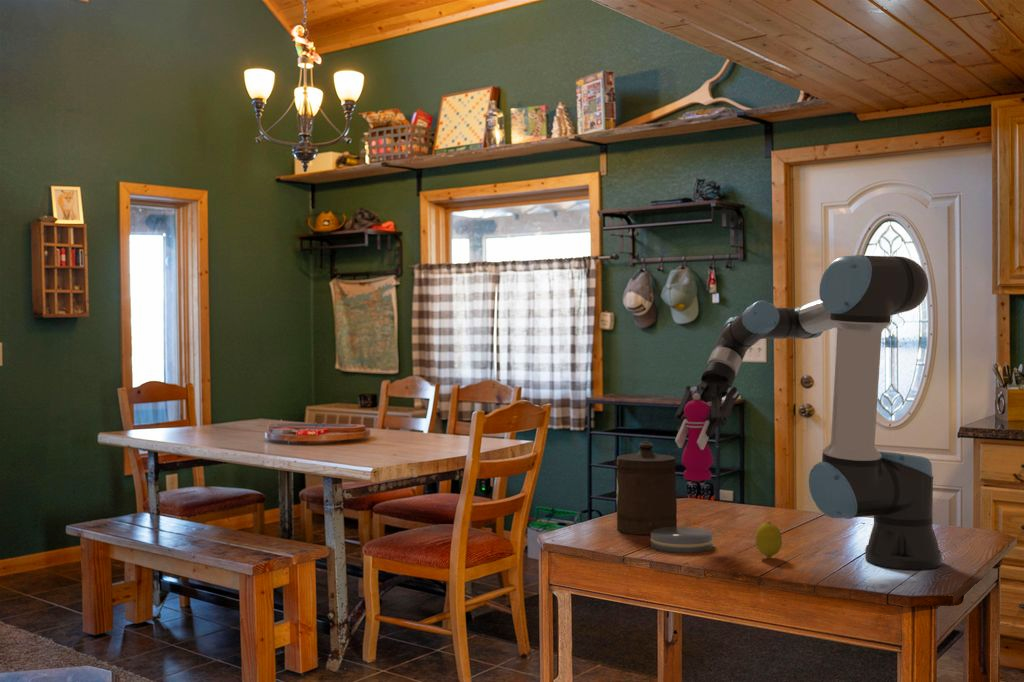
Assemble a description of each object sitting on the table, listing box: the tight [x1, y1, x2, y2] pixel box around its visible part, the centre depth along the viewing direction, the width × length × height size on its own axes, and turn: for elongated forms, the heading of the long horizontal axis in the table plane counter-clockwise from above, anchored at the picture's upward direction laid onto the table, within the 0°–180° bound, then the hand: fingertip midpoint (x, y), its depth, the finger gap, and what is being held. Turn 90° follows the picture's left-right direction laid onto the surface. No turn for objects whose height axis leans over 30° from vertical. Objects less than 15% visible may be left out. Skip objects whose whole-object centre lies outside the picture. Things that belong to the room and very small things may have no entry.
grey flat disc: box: [650, 526, 713, 554], centre depth 226 cm, size 14×14×3 cm
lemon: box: [755, 521, 783, 559], centre depth 213 cm, size 6×6×8 cm
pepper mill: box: [681, 392, 714, 482], centre depth 229 cm, size 7×7×20 cm
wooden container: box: [616, 440, 678, 536], centre depth 245 cm, size 15×15×22 cm
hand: (689, 445), depth 226 cm, fingers closed on pepper mill, 5 cm apart
